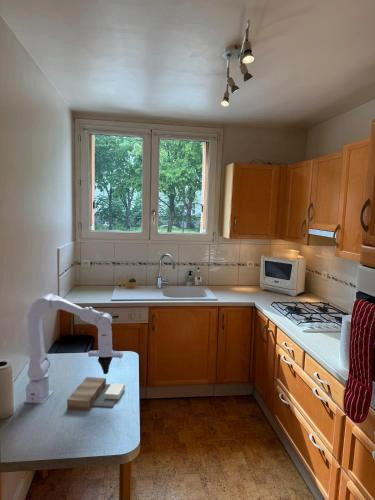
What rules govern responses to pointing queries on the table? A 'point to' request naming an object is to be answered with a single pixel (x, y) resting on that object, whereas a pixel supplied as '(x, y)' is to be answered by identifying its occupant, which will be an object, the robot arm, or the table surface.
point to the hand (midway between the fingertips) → (106, 373)
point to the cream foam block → (114, 391)
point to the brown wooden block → (86, 393)
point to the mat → (104, 399)
